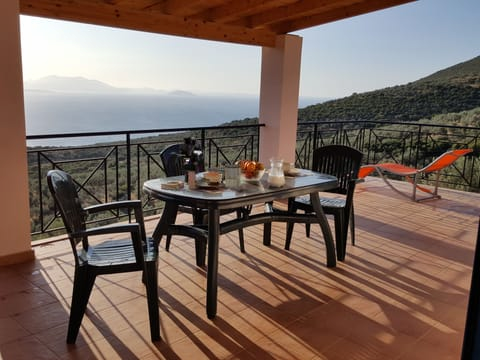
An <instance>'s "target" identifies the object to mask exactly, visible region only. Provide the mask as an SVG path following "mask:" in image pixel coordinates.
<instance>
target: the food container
mask: <svg viewBox="0 0 480 360" xmlns="http://www.w3.org/2000/svg"><path fill="white" fill-rule="evenodd" d="M207 171H208V173H209V172H214V173H219V174H222V181H221V183H222V184H221V185H223V184H224V182H225V168H224V167H219V166H218V167H217V166H216V167H215V166H213V167H208V170H207Z"/></svg>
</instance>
